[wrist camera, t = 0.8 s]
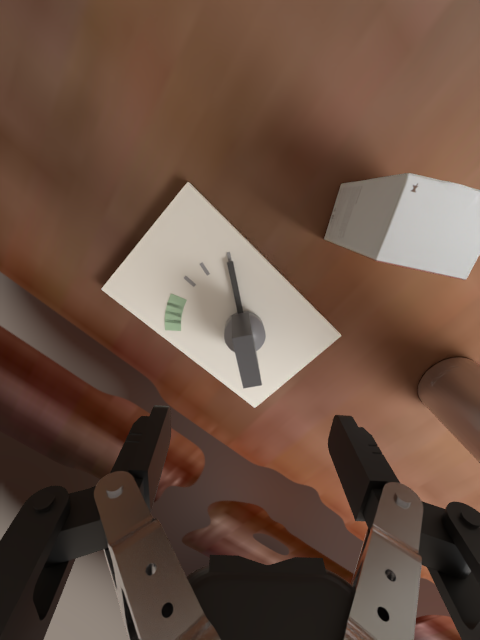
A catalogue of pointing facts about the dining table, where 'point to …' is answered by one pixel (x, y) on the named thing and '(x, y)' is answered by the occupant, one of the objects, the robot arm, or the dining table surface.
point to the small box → (409, 223)
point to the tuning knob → (244, 337)
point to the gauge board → (217, 296)
